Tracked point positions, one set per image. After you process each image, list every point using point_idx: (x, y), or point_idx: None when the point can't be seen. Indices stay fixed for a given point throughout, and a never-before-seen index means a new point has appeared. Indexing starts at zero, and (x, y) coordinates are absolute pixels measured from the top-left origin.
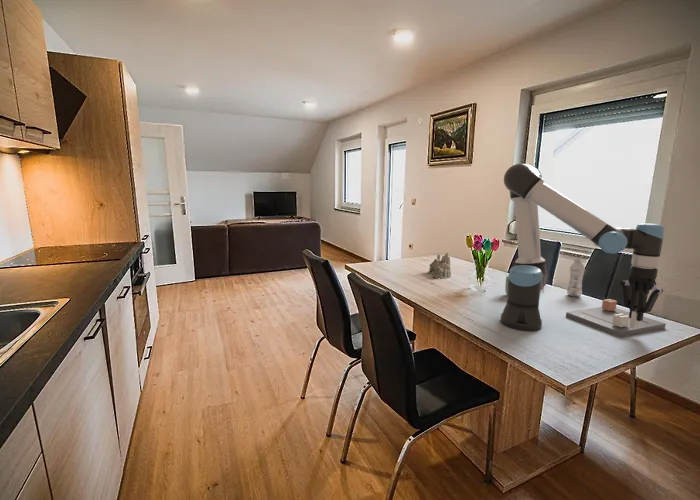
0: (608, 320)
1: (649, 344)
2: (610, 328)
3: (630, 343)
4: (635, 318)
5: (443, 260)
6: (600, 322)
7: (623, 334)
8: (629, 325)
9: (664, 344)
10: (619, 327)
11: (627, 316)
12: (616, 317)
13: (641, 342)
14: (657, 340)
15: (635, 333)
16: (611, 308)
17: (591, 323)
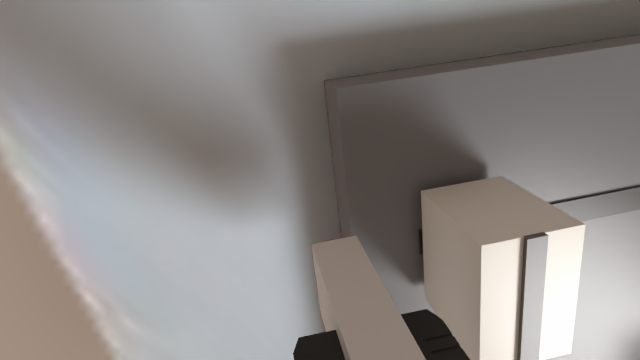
0: (584, 243)
1: (133, 216)
2: (442, 72)
3: (173, 48)
4: (338, 326)
5: None
6: (587, 118)
7: (335, 140)
8: None
9: (123, 338)
10: None
11: (479, 340)
12: (530, 221)
13: (183, 183)
14: (204, 349)
15: None
16: None
17: (622, 43)
